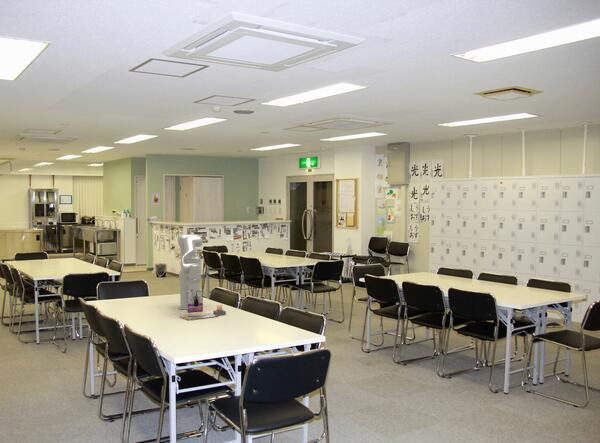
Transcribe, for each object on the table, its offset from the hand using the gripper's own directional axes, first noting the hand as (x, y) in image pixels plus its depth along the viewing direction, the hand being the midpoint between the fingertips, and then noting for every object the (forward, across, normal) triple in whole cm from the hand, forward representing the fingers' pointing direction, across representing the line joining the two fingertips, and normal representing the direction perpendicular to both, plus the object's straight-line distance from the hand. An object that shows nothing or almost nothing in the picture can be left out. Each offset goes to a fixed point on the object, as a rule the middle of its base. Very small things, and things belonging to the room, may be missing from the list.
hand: (194, 305), depth 408 cm
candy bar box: (+5, 0, 0) cm, 5 cm away
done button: (+7, 0, +20) cm, 21 cm away
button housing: (+9, 0, +20) cm, 22 cm away
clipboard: (+9, 0, +4) cm, 10 cm away
